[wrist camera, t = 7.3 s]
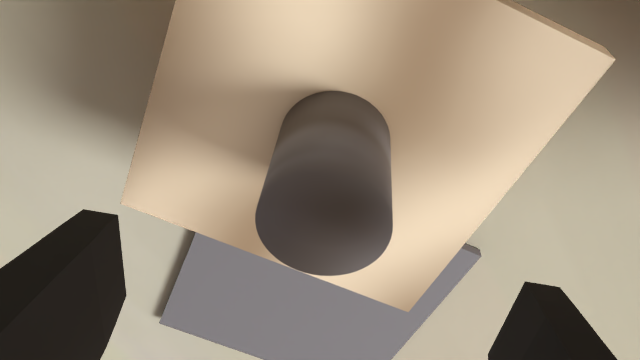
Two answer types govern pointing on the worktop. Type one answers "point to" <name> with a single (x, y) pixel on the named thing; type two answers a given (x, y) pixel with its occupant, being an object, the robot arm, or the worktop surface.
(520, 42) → the lid
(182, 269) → the mat
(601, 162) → the worktop surface
